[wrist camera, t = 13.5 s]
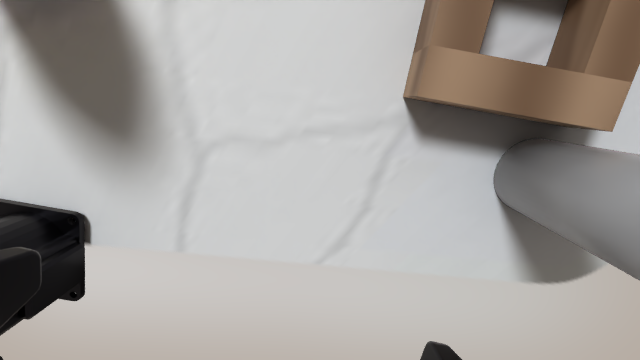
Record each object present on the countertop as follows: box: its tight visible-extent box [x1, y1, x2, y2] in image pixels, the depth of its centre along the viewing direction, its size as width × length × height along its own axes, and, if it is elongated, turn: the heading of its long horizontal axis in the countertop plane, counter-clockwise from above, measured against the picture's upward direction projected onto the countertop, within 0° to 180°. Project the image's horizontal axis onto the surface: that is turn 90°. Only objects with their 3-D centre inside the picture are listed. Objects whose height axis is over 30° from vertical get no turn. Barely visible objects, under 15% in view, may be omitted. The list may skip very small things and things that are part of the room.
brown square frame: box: [403, 0, 640, 132], centre depth 16 cm, size 10×10×3 cm
